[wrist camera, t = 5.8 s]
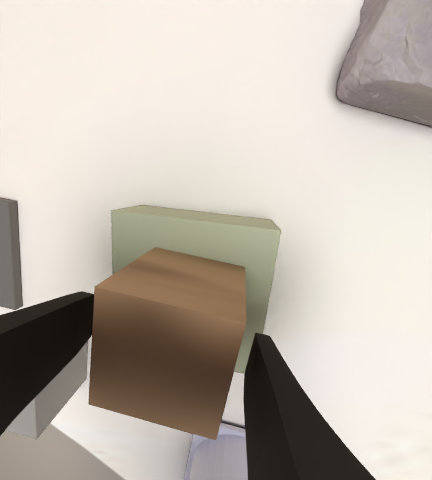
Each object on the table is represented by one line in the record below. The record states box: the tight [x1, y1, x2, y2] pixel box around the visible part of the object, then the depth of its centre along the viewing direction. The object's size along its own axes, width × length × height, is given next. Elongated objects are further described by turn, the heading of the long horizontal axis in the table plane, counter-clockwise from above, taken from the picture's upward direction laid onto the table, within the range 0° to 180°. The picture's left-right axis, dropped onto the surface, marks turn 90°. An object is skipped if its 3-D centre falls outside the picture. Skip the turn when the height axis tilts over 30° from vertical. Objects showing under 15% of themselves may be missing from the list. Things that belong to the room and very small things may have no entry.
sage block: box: [111, 205, 281, 374], centre depth 14 cm, size 9×9×4 cm
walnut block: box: [89, 247, 246, 440], centre depth 10 cm, size 5×5×5 cm
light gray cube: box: [6, 341, 88, 439], centre depth 17 cm, size 5×5×5 cm
